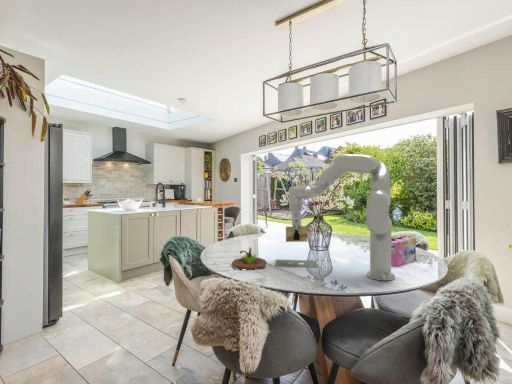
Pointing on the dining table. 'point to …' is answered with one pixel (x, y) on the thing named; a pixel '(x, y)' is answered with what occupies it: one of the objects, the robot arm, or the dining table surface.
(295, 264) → the mat
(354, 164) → the robot arm
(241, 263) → the plant
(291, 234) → the oak block
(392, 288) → the dining table surface
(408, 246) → the gum box
